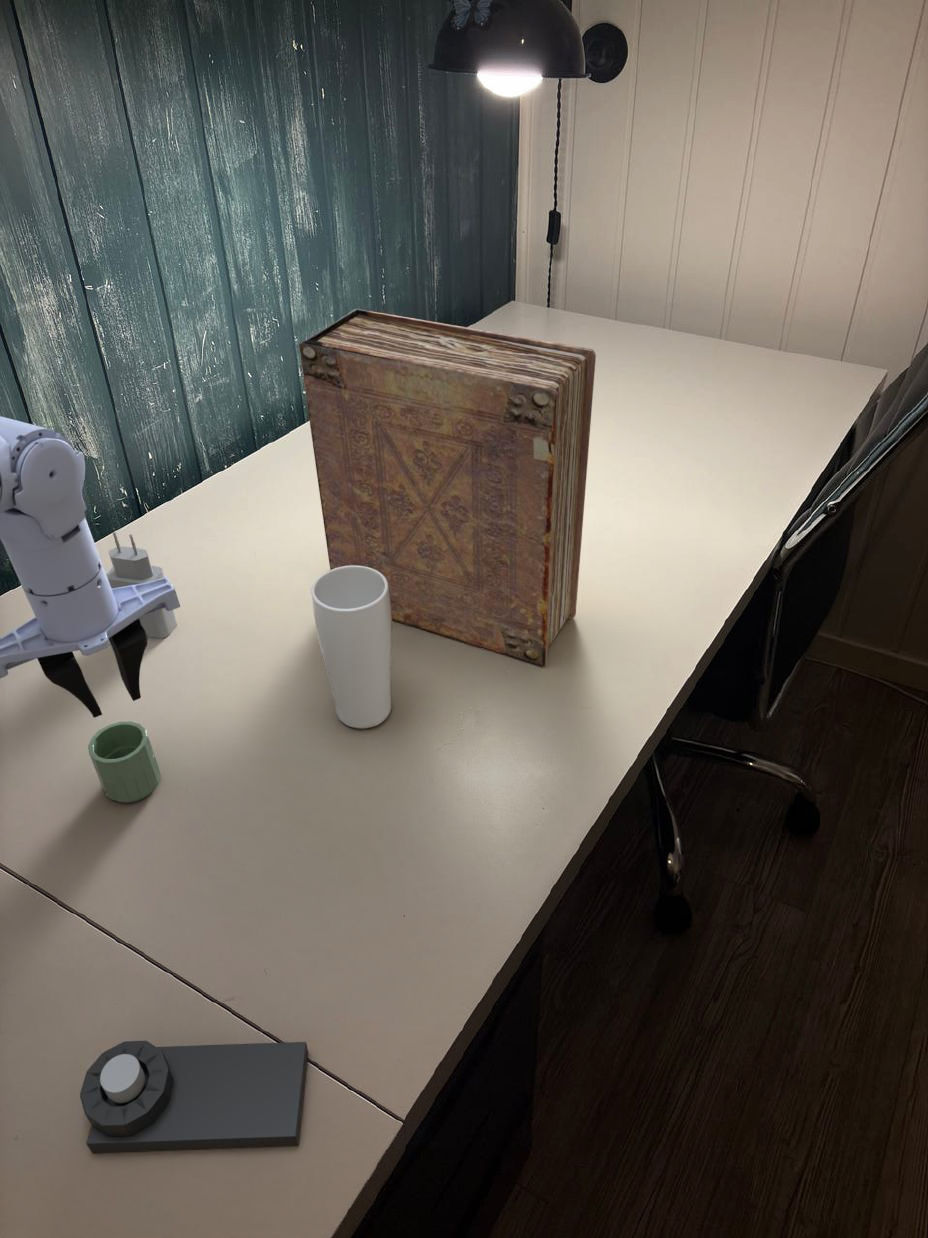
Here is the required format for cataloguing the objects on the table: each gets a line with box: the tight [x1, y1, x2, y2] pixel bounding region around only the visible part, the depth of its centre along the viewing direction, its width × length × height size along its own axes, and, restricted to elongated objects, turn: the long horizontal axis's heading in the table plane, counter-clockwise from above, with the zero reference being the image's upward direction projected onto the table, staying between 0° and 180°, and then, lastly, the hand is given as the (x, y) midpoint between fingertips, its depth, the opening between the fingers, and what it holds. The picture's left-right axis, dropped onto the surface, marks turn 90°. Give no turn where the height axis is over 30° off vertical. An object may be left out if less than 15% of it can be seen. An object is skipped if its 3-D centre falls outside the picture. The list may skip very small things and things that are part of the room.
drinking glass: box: [310, 565, 393, 729], centre depth 83 cm, size 7×7×15 cm
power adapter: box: [106, 531, 178, 639], centre depth 95 cm, size 3×5×12 cm, turn 76°
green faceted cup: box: [87, 720, 161, 804], centre depth 80 cm, size 5×5×6 cm
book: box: [298, 308, 597, 668], centre depth 91 cm, size 25×9×30 cm, turn 63°
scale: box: [79, 1040, 309, 1154], centre depth 59 cm, size 14×6×3 cm, turn 92°
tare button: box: [100, 1054, 145, 1103], centre depth 58 cm, size 2×2×2 cm
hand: (114, 700), depth 76 cm, fingers open, 3 cm apart
